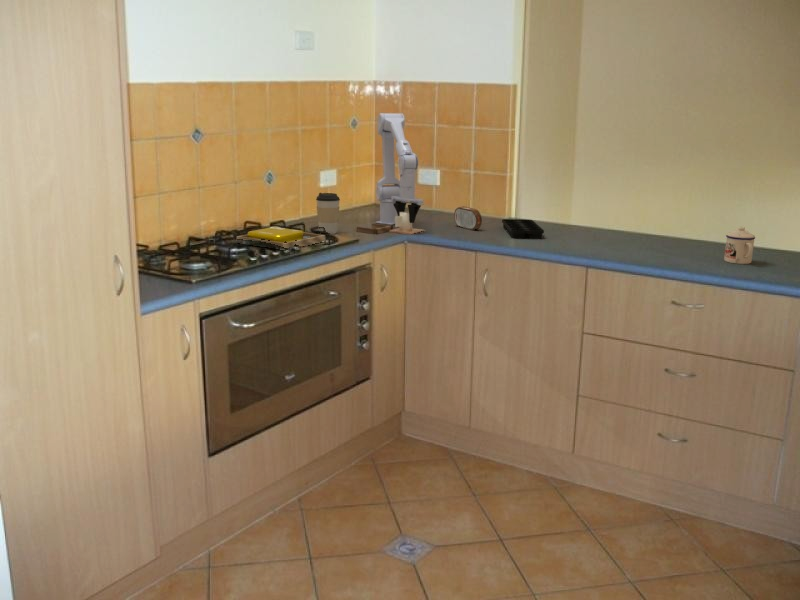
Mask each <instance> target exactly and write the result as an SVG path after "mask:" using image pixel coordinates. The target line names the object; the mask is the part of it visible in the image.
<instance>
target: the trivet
mask: <svg viewBox="0 0 800 600" xmlns="http://www.w3.org/2000/svg"><path fill="white" fill-rule="evenodd" d="M421 231H424V232H426V230H425V229H421V228H420V229H419V228H413V227H412V231H400V230H399V227H396V228H393V230H389V231H388V233H395V234H403V235H412V236H413V235H415V234H414V233H416V234H418V233H417V232H420V233H422V232H421Z"/></svg>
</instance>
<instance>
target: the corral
mask: <svg viewBox="0 0 800 600" xmlns="http://www.w3.org/2000/svg"><path fill="white" fill-rule="evenodd" d="M303 235H306V236H310V237H311V238H306V239H301V240H297V241H292V242H287V243H281V242H275V241H268V240H261V239H255V238H248V233H246V234H242V235H237V236H236V240H237V239H243V240H252V241H261V242H266V243H271V244H275V245H278V246H281V247H284V248H289V247H292V246H294V245H295V244H296V245H299V246H306V247H309V246H308V245H310V246H313V245H312V244H315V243H319V242H322V241H325V242H326V234H321V233H312V232H305V231H303ZM319 244H320V243H319ZM315 245H316V244H315Z"/></svg>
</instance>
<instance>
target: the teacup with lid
mask: <svg viewBox="0 0 800 600" xmlns="http://www.w3.org/2000/svg"><path fill="white" fill-rule="evenodd" d="M725 236H726V241H725V249H724V256H723V257H724V258H723V259H724V261H725V262H727V263H729V264H735V265H736V264H738V265H748V264H751V263H752V261H753V260H752V259H753V253H754V246H755V239H756V237H755V234H752V233H750V232H749V231H747V230H746V229H745V227H743V226H739V227H738V228H737V229H735V230H733V231H731V232H728V233H726V235H725Z"/></svg>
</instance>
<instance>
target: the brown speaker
mask: <svg viewBox="0 0 800 600" xmlns="http://www.w3.org/2000/svg"><path fill="white" fill-rule="evenodd" d="M453 215H454V216H453V218H454V223H455V224H456V226H457V227H459V226H460V227H459V228H461V227H463V229H466V228H467V230H469V229H471V230H470V231H474V230H475V229H477V230H479V229H480V228H481V226H482V223H483V219H482V214H481V213H480V210H478V209H477V208H473V207H470V206H469V207H468V206H464V205H462V206H459V207H457V208H455V210H454V214H453ZM475 231H476V230H475Z"/></svg>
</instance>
